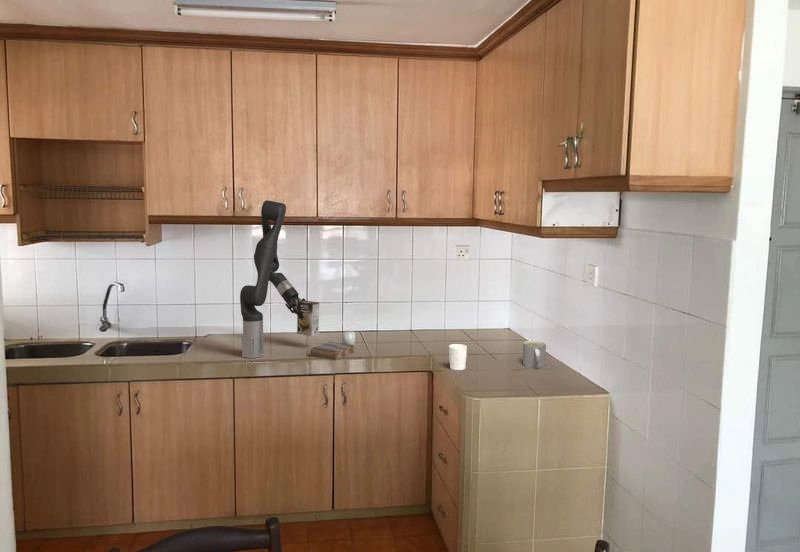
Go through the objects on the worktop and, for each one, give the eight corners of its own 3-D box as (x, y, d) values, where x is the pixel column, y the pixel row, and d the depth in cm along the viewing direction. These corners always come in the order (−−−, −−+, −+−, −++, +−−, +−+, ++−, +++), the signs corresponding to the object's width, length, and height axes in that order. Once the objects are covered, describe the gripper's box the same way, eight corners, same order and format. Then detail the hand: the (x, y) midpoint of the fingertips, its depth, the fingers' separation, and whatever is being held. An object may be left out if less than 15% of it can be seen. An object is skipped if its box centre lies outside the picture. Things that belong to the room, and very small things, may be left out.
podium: (335, 360, 297) (335, 351, 297) (310, 356, 304) (310, 348, 303) (353, 352, 311) (353, 344, 311) (329, 349, 318) (329, 341, 317)
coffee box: (296, 334, 318) (296, 301, 316) (304, 332, 324) (304, 300, 322) (311, 336, 314) (312, 303, 312) (319, 334, 319) (319, 301, 318)
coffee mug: (523, 361, 298) (523, 340, 297) (545, 362, 296) (545, 341, 294) (522, 369, 285) (522, 347, 284) (545, 370, 283) (546, 348, 282)
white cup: (445, 366, 288) (445, 344, 286) (461, 365, 291) (461, 343, 289) (454, 371, 280) (454, 348, 279) (469, 369, 284) (470, 347, 282)
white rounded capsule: (351, 350, 317) (351, 334, 316) (340, 348, 319) (340, 332, 318) (357, 347, 322) (357, 331, 321) (347, 346, 325) (347, 330, 324)
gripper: (282, 288, 314) (302, 314, 310) (300, 285, 327) (319, 310, 323) (274, 298, 317) (293, 324, 313) (291, 294, 330) (310, 319, 326)
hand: (306, 317), depth 318 cm, fingers closed on coffee box, 6 cm apart
